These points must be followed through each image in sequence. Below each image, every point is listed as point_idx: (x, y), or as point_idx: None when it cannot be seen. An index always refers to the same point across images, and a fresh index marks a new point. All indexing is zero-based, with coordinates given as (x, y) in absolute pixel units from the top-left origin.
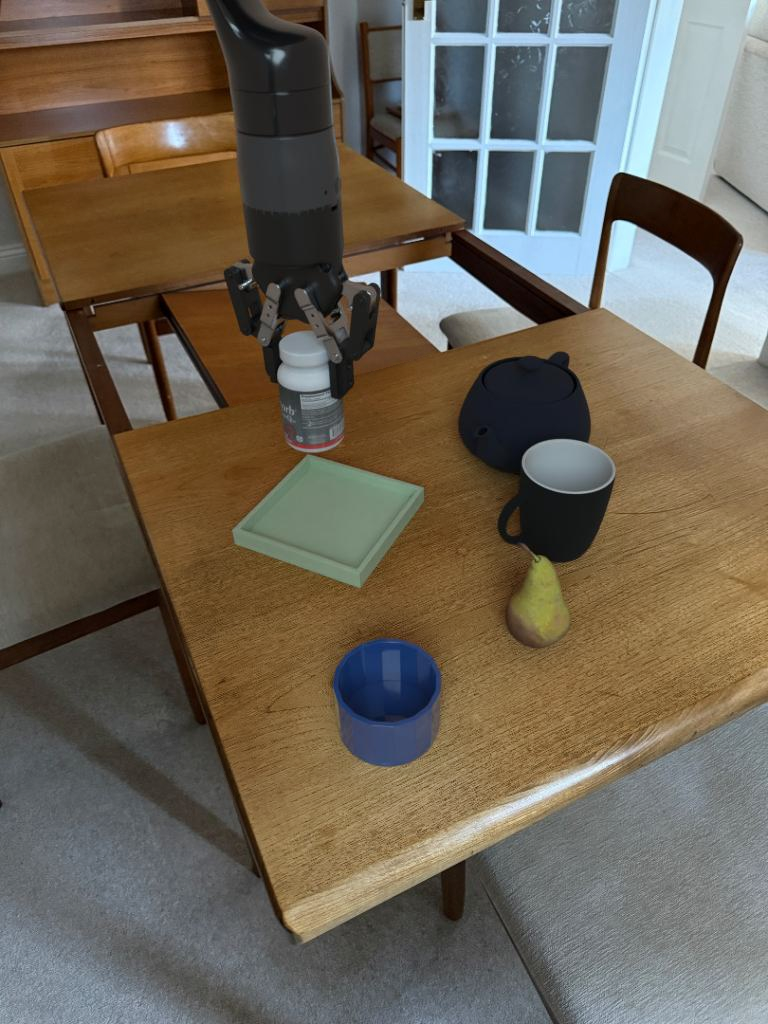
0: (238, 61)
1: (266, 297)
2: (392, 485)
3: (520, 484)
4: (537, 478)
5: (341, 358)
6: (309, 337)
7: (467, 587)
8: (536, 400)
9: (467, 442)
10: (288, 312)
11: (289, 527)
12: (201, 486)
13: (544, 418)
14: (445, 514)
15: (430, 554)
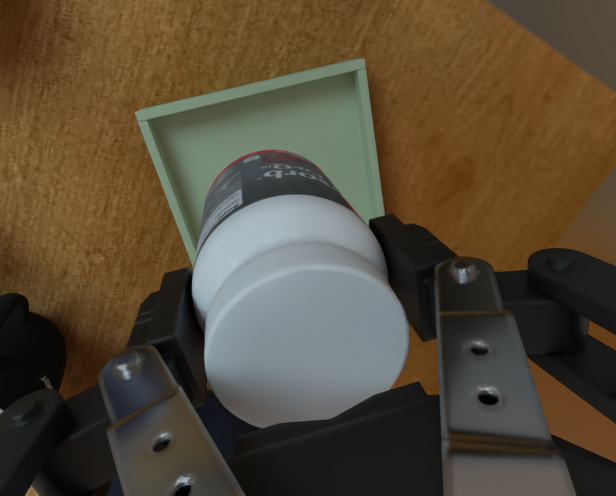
0: None
1: (549, 441)
2: None
3: (6, 377)
4: None
5: (101, 371)
6: (328, 386)
7: (33, 209)
8: None
9: (216, 401)
10: (385, 428)
11: (311, 135)
12: (484, 122)
13: (108, 494)
14: None
15: (123, 226)
